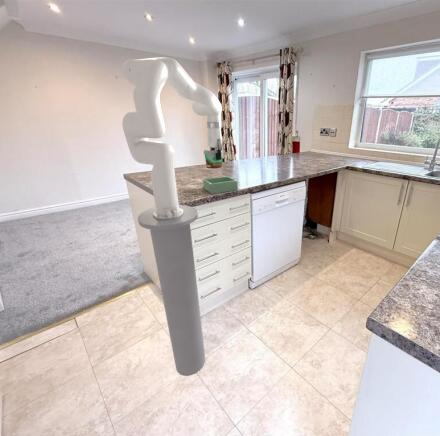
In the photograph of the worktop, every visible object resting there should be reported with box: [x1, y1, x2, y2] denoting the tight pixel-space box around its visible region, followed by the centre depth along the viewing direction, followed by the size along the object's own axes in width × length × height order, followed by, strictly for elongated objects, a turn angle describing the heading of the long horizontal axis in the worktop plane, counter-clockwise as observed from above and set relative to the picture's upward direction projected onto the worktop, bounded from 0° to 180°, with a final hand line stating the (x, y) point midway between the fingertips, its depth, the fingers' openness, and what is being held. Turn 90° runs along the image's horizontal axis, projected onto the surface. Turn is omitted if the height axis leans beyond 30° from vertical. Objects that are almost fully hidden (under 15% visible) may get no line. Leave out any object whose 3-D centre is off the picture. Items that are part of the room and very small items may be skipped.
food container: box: [203, 148, 225, 169], centre depth 141 cm, size 12×6×10 cm, turn 137°
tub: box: [202, 175, 239, 195], centre depth 148 cm, size 13×17×6 cm
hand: (216, 158), depth 141 cm, fingers closed on food container, 6 cm apart
